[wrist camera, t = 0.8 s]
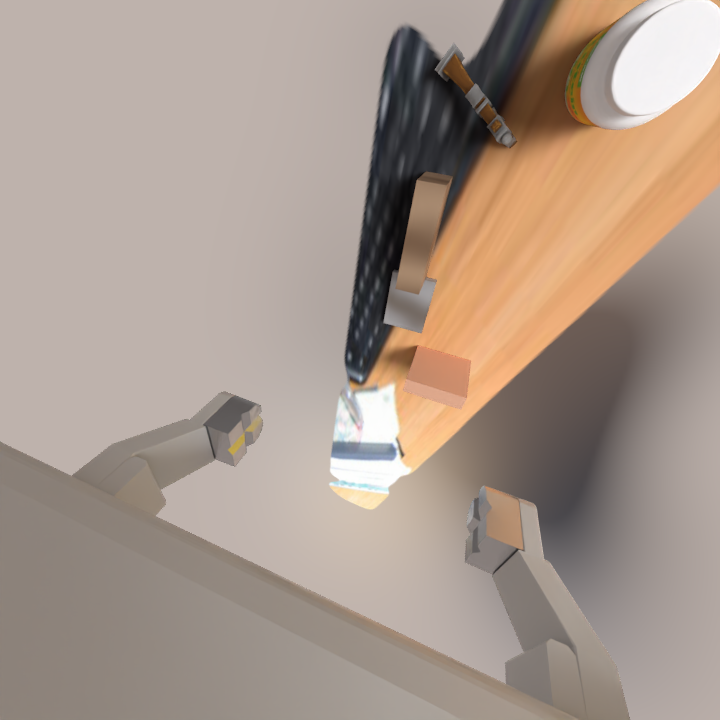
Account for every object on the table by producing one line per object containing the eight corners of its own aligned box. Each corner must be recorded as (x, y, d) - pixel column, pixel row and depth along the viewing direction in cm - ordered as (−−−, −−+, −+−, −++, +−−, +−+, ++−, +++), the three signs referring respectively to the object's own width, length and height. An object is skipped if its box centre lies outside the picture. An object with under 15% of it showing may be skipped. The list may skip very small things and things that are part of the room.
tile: (418, 345, 41) (406, 379, 36) (470, 360, 39) (466, 398, 34) (414, 356, 42) (403, 391, 37) (465, 372, 41) (460, 409, 36)
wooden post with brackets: (509, 163, 25) (494, 151, 22) (455, 91, 26) (433, 68, 23) (530, 143, 24) (518, 127, 21) (473, 68, 25) (452, 40, 22)
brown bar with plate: (413, 169, 29) (402, 177, 25) (466, 178, 28) (462, 188, 24) (385, 319, 40) (374, 338, 37) (422, 330, 39) (415, 350, 36)
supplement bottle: (570, 37, 21) (607, 2, 14) (674, 4, 19) (780, -58, 12) (558, 133, 24) (583, 144, 17) (646, 114, 22) (717, 117, 15)
